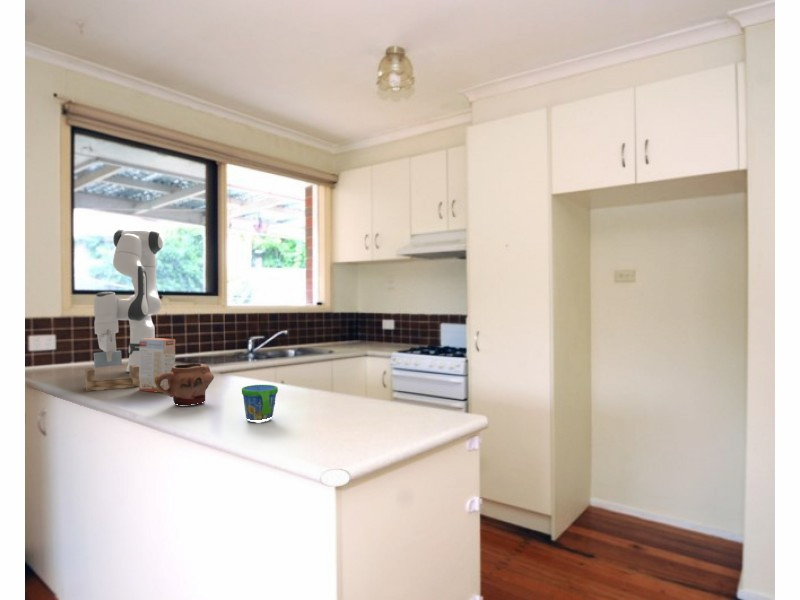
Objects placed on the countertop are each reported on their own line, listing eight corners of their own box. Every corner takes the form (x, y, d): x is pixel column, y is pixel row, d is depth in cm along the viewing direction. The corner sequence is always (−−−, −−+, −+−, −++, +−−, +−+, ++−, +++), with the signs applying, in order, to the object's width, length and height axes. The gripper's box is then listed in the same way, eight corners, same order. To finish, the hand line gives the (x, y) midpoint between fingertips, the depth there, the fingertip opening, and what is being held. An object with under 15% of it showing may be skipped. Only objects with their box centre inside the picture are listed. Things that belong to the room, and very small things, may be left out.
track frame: (135, 383, 208) (135, 364, 208) (139, 386, 202) (139, 366, 202) (84, 388, 197) (85, 368, 197) (87, 391, 190) (87, 370, 190)
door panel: (120, 364, 214) (120, 350, 214) (121, 364, 212) (121, 351, 212) (94, 367, 207) (93, 353, 207) (95, 367, 206) (94, 353, 205)
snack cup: (281, 425, 142) (282, 390, 142) (244, 429, 138) (244, 393, 138) (272, 413, 156) (273, 382, 156) (238, 416, 152) (239, 384, 152)
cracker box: (175, 391, 193) (176, 338, 193) (162, 393, 187) (163, 339, 187) (151, 388, 199) (152, 337, 199) (138, 390, 193) (138, 338, 193)
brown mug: (167, 412, 156) (168, 369, 156) (147, 407, 163) (147, 366, 163) (221, 402, 173) (221, 363, 173) (200, 398, 179) (201, 360, 179)
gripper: (119, 330, 203) (121, 363, 204) (111, 327, 219) (112, 357, 219) (102, 331, 199) (103, 364, 200) (94, 328, 215) (96, 359, 215)
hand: (108, 361), depth 210 cm, fingers closed on door panel, 2 cm apart
